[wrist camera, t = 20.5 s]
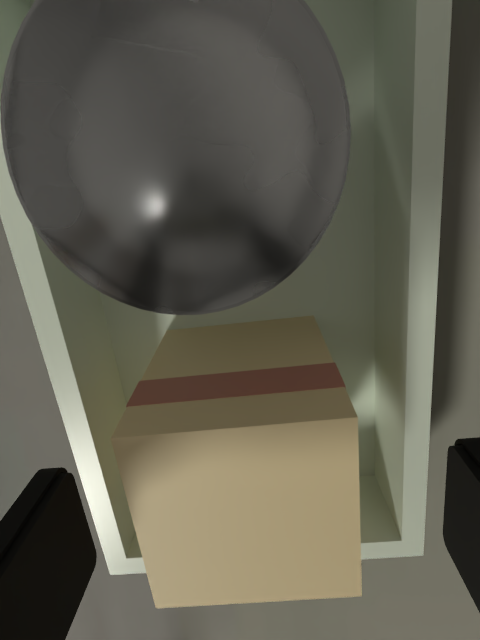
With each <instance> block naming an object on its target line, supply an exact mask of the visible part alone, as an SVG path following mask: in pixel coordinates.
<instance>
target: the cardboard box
mask: <svg viewBox="0 0 480 640" xmlns="http://www.w3.org/2000/svg"><path fill="white" fill-rule="evenodd" d="M111 442H112V446H113V450H114V453H115V457H116V461H117V465H118V468H119V472H120V476H121V479H122V483H123V487H124V491H125V494H126V498H127V502H128V506H129V509H130V513H131V517H132V520H133V524H134V528H135V532H136V535H137V539H138V543H139V547H140V550H141V554H142V558H143V561H144V565H145V569H146V573H147V576H148V580H149V584H150V588H151V591H152V595H153V599H154V602H155V606H156V608H172V607H189V606H206V605H223V604H239V603H256V602H273V601H290V600H307V599H324V598H341V597H358V596H362V579H361V534H360V489H359V444H358V416H357V414H356V412H355V409H354V407H353V405H352V403H351V400H350V398H349V396H348V393H347V391H346V386H345V384H344V381H343V379H342V377H341V375H340V372H339V370H338V368H337V365H336V363H335V362H334V361H333V359H332V357H331V354H330V352H329V350H328V347H327V345H326V343H325V340H324V338H323V336H322V334H321V331H320V329H319V327H318V324H317V322H316V320H315V317H314V315H313V316H303V317H293V318H283V319H273V320H264V321H254V322H244V323H234V324H224V325H215V326H205V327H195V328H185V329H175V330H167V331H166V333H165V335H164V337H163V338H162V340H161V342H160V344H159V346H158V348H157V350H156V352H155V354H154V356H153V358H152V360H151V362H150V363H149V365H148V367H147V369H146V371H145V373H144V375H143V377H142V379H141V381H139V382H138V384H137V386H136V388H135V390H134V392H133V394H132V396H131V397H130V399H129V401H128V403H127V405H126V410H125V412H124V414H123V415H122V417H121V419H120V421H119V423H118V425H117V427H116V429H115V431H114V433H113V435H112V437H111Z"/></svg>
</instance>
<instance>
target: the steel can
mask: <svg viewBox="0 0 480 640" xmlns="http://www.w3.org/2000/svg"><path fill="white" fill-rule="evenodd" d="M0 123H1V132H2V142H3V149H4V154H5V158H6V163H7V167H8V172H9V175H10V177H11V180H12V183H13V186H14V189H15V192H16V195H17V197H18V199H19V201H20V203H21V205H22V207H23V209H24V211H25V214H26V216H27V217H28V219H29V220H30V222H31V224H32V225H33V227H34V228H35V230H36V232H37V233H38V235H39V236H40V237H41V239H42V240H43V241H44V243H45V244H46V245H47V246H48V248H49V249H50V250H51V251H52V253H53V254H54V255H55V256H56V257H57V258H58V259H59V260H60V261H61V262H62V263H63V264H64V265H65V266H66V267H67V268H68V269H69V270H70V271H72V272H73V273H74V274H75V275H77V276H78V277H79V278H80V279H82V280H83V281H84V282H85V283H87V284H89V285H90V286H92V287H93V288H95V289H96V290H98V291H100V292H101V293H103V294H105V295H107V296H109V297H111V298H113V299H115V300H117V301H119V302H121V303H124V304H127V305H130V306H133V307H136V308H139V309H142V310H147V311H151V312H156V313H161V314H172V315H201V314H207V313H213V312H220V311H223V310H226V309H230V308H233V307H237V306H240V305H242V304H244V303H246V302H249V301H251V300H253V299H256V298H258V297H259V296H261V295H263V294H264V293H266V292H268V291H269V290H271V289H273V288H274V287H276V286H277V285H278V284H279V283H281V282H282V281H283V280H285V279H286V278H287V277H288V276H290V275H291V274H292V273H293V272H294V271H295V270H296V269H297V268H298V267H299V266H300V265H301V264H302V263H303V262H304V261H305V260H306V258H307V257H308V256H309V254H310V253H311V252H312V251H313V249H314V248H315V247H316V245H317V244H318V243H319V241H320V239H321V238H322V236H323V234H324V233H325V231H326V229H327V228H328V226H329V224H330V222H331V220H332V217H333V215H334V213H335V211H336V208H337V206H338V204H339V201H340V197H341V194H342V191H343V187H344V184H345V181H346V175H347V169H348V164H349V158H350V141H351V124H350V111H349V102H348V97H347V92H346V87H345V82H344V78H343V75H342V72H341V69H340V66H339V63H338V60H337V57H336V54H335V52H334V50H333V47H332V45H331V43H330V41H329V39H328V37H327V35H326V33H325V31H324V29H323V27H322V26H321V24H320V23H319V21H318V20H317V18H316V17H315V15H314V13H313V12H312V10H311V9H310V7H309V6H308V5H307V4H306V2H305V1H304V0H35V1H34V3H33V5H32V6H31V8H30V10H29V11H28V13H27V15H26V16H25V18H24V20H23V21H22V23H21V25H20V28H19V30H18V32H17V35H16V37H15V39H14V42H13V44H12V46H11V50H10V53H9V57H8V61H7V64H6V68H5V72H4V79H3V86H2V93H1V120H0Z"/></svg>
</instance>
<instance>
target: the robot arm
mask: <svg viewBox="0 0 480 640" xmlns="http://www.w3.org/2000/svg"><path fill="white" fill-rule="evenodd" d="M443 537H444V542H445V545H446V548H447V550H448V552H449V554H450V556H451V558H452V560H453V562H454V563H455V565H456V567H457V569H458V571H459V573H460V575H461V577H462V579H463V581H464V583H465V585H466V587H467V589H468V591H469V593H470V595H471V597H472V598H473V600H474V602H475V604H476V606H477V608H478V610H479V612H480V437H479V438H466V439H457V440H456V442H455V446H449V448H448V457H447V473H446V490H445V506H444V522H443ZM95 565H96V549H95V546H94V543H93V539H92V536H91V533H90V529H89V526H88V523H87V519H86V516H85V513H84V509H83V506H82V503H81V499H80V496H79V493H78V489H77V486H76V483H75V479H74V476H73V475H72V474H71V473H67V470H66V469H65V468H48V469H41V470H39V471H38V472H37V473H36V474H35V475H34V477H33V478H32V479H31V481H30V482H29V483H28V485H27V486H26V487H25V489H24V490H23V491H22V493H21V494H20V495H19V497H18V498H17V500H16V501H15V502H14V504H13V505H12V506H11V508H10V509H9V510H8V512H7V513H6V514H5V516H4V517H3V518H2V520H1V521H0V640H65V639H66V636H67V634H68V631H69V629H70V626H71V624H72V622H73V619H74V617H75V614H76V612H77V609H78V607H79V605H80V602H81V600H82V597H83V595H84V592H85V590H86V588H87V585H88V583H89V580H90V578H91V575H92V573H93V571H94V568H95Z"/></svg>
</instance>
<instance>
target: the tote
mask: <svg viewBox="0 0 480 640" xmlns="http://www.w3.org/2000/svg"><path fill="white" fill-rule="evenodd" d="M34 1H35V0H0V120H1V93H2V86H3V79H4V72H5V68H6V64H7V61H8V57H9V53H10V50H11V46H12V44H13V42H14V39H15V37H16V35H17V32H18V30H19V28H20V25H21V23H22V21H23V20H24V18H25V16H26V15H27V13H28V11H29V10H30V8H31V6H32V5H33V3H34ZM304 1H305V2H306V4H307V5H308V6H309V7H310V9H311V10H312V12H313V13H314V15H315V17H316V18H317V20H318V21H319V23H320V24H321V26H322V27H323V29H324V31H325V33H326V35H327V37H328V39H329V41H330V43H331V45H332V47H333V50H334V52H335V54H336V57H337V60H338V63H339V66H340V69H341V72H342V75H343V78H344V82H345V87H346V92H347V97H348V102H349V111H350V124H351V141H350V158H349V164H348V169H347V175H346V181H345V184H344V187H343V191H342V194H341V197H340V201H339V204H338V206H337V208H336V211H335V213H334V215H333V217H332V220H331V222H330V224H329V226H328V228H327V229H326V231H325V233H324V234H323V236H322V238H321V239H320V241H319V243H318V244H317V245H316V247H315V248H314V249H313V251H312V252H311V253H310V254H309V256H308V257H307V258H306V260H305V261H304V262H303V263H302V264H301V265H300V266H299V267H298V268H297V269H296V270H295V271H294V272H293V273H292V274H291V275H290V276H288V277H287V278H286V279H285V280H283V281H282V282H281V283H279V284H278V285H277V286H276V287H274V288H273V289H271V290H269V291H268V292H266V293H264V294H263V295H261V296H259V297H258V298H256V299H253V300H251V301H249V302H246V303H244V304H242V305H240V306H237V307H233V308H230V309H226V310H223V311H220V312H213V313H207V314H201V315H172V314H161V313H156V312H151V311H147V310H142V309H139V308H136V307H133V306H130V305H127V304H124V303H121V302H119V301H117V300H115V299H113V298H111V297H109V296H107V295H105V294H103V293H101V292H100V291H98V290H96V289H95V288H93V287H92V286H90V285H89V284H87V283H85V282H84V281H83V280H82V279H80V278H79V277H78V276H77V275H75V274H74V273H73V272H72V271H70V270H69V269H68V268H67V267H66V266H65V265H64V264H63V263H62V262H61V261H60V260H59V259H58V258H57V257H56V256H55V255H54V254H53V253H52V251H51V250H50V249H49V248H48V246H47V245H46V244H45V243H44V241H43V240H42V239H41V237H40V236H39V235H38V233H37V232H36V230H35V228H34V227H33V225H32V224H31V222H30V220H29V219H28V217H27V216H26V214H25V211H24V209H23V207H22V205H21V203H20V201H19V199H18V197H17V195H16V192H15V189H14V186H13V183H12V180H11V177H10V175H9V172H8V167H7V163H6V158H5V154H4V149H3V142H2V132H1V123H0V216H1V219H2V223H3V226H4V229H5V232H6V236H7V239H8V242H9V245H10V249H11V252H12V255H13V258H14V262H15V265H16V268H17V272H18V275H19V278H20V281H21V285H22V288H23V291H24V294H25V298H26V301H27V304H28V308H29V311H30V314H31V317H32V321H33V324H34V327H35V330H36V334H37V337H38V340H39V343H40V347H41V350H42V353H43V357H44V360H45V363H46V366H47V370H48V373H49V376H50V379H51V383H52V386H53V389H54V392H55V396H56V399H57V402H58V406H59V409H60V412H61V415H62V419H63V422H64V425H65V428H66V432H67V435H68V438H69V441H70V445H71V448H72V451H73V455H74V458H75V461H76V464H77V468H78V471H79V474H80V477H81V481H82V484H83V487H84V490H85V494H86V497H87V500H88V504H89V507H90V510H91V513H92V517H93V520H94V523H95V526H96V530H97V533H98V536H99V539H100V543H101V546H102V549H103V553H104V556H105V559H106V562H107V566H108V569H109V572H110V575H119V574H135V573H146V569H145V565H144V561H143V558H142V554H141V550H140V547H139V543H138V539H137V535H136V532H135V528H134V524H133V520H132V517H131V513H130V509H129V506H128V502H127V498H126V494H125V491H124V487H123V483H122V479H121V476H120V472H119V468H118V465H117V461H116V457H115V453H114V450H113V446H112V442H111V437H112V435H113V433H114V431H115V429H116V427H117V425H118V423H119V421H120V419H121V417H122V415H123V414H124V412H125V410H126V405H127V403H128V401H129V399H130V397H131V396H132V394H133V392H134V390H135V388H136V386H137V384H138V382H139V381H141V379H142V377H143V375H144V373H145V371H146V369H147V367H148V365H149V363H150V362H151V360H152V358H153V356H154V354H155V352H156V350H157V348H158V346H159V344H160V342H161V340H162V338H163V337H164V335H165V333H166V331H167V330H175V329H185V328H195V327H205V326H215V325H224V324H234V323H244V322H254V321H264V320H273V319H283V318H293V317H303V316H313V315H314V317H315V320H316V322H317V324H318V327H319V329H320V331H321V334H322V336H323V338H324V340H325V343H326V345H327V347H328V350H329V352H330V354H331V357H332V359H333V361H334V362H335V363H336V365H337V368H338V370H339V372H340V375H341V377H342V379H343V381H344V384H345V386H346V391H347V393H348V396H349V398H350V400H351V403H352V405H353V407H354V409H355V412H356V414H357V416H358V444H359V489H360V534H361V559H376V558H392V557H408V556H423V552H424V533H425V514H426V495H427V476H428V456H429V437H430V418H431V399H432V380H433V361H434V341H435V322H436V303H437V284H438V265H439V246H440V226H441V207H442V188H443V169H444V150H445V131H446V111H447V92H448V73H449V54H450V35H451V16H452V0H304Z"/></svg>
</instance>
